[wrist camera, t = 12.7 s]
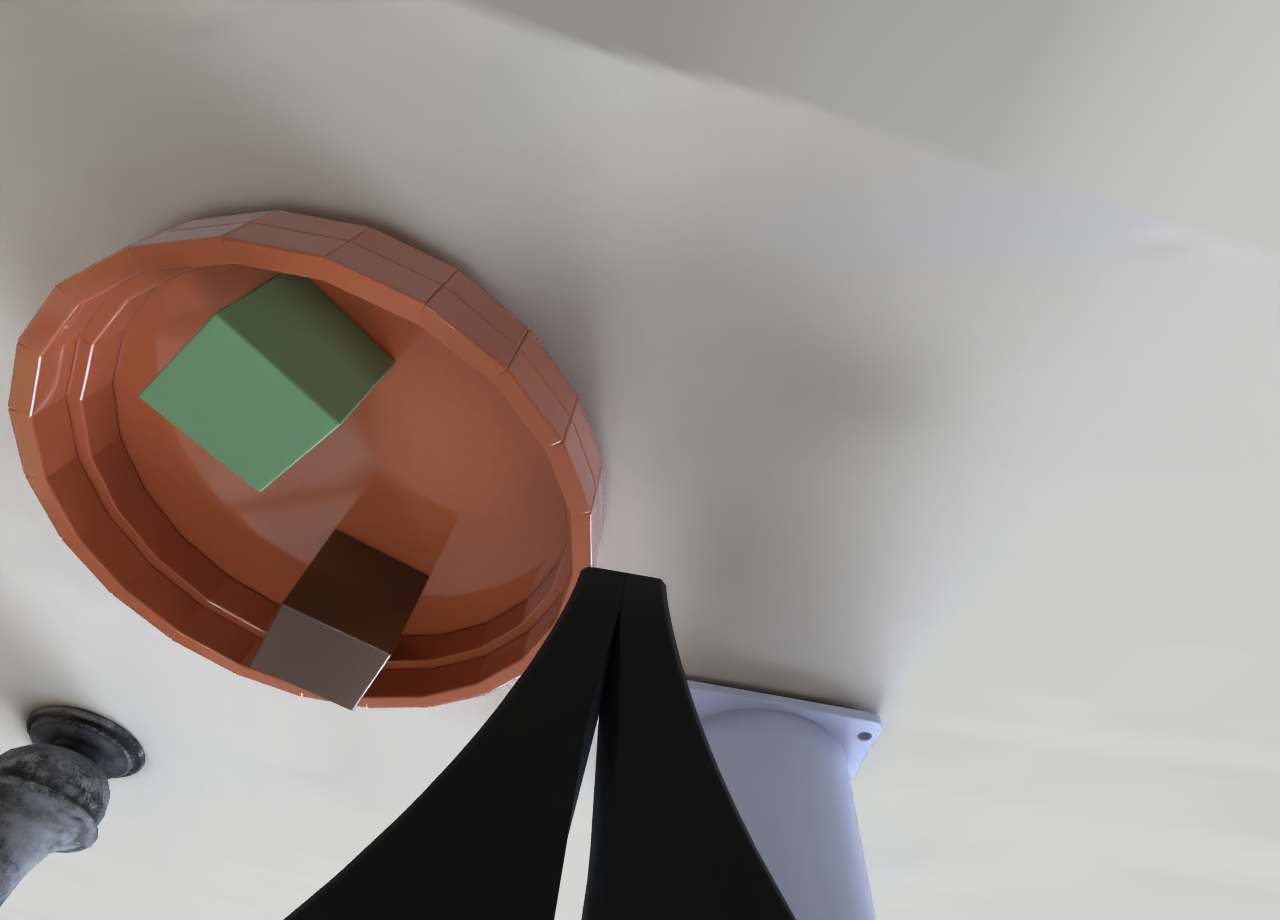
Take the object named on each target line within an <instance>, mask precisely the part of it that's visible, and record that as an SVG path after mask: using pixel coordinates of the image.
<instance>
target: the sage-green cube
mask: <svg viewBox="0 0 1280 920" xmlns="http://www.w3.org/2000/svg"><path fill="white" fill-rule="evenodd" d="M394 364H395V361H394V360H393V359H392V358H391V357H390V356H388V355H387V354H386V353H385V352H384V351H383V350H382V349H381V348H380V347H379V346H378V345H377V344H376V343H375V342H374V341H373V340H372V339H371V338H370V337H369V336H368V335H367V334H366V333H365V332H364V331H363V330H362V329H361V328H360V327H359V326H358V325H357V324H356V323H354V322H353V321H352V320H351V319H350V318H349V317H348V316H347V315H346V314H345V313H344V312H343V311H342V310H341V309H340V308H339V307H338V306H337V305H336V304H335V303H334V302H333V301H332V300H331V299H330V298H329V297H328V296H327V295H326V294H325V293H324V292H323V291H322V290H321V289H319V288H318V287H317V286H316V285H315V284H314V283H313V282H312V281H311V280H310V279H309V278H308V277H303V276H298V275H292V274H287V273H282V272H281V273H279V274H278V275H276V276H275V277H273V278H271V279H270V280H268V281H266V282H265V283H263V284H261V285H260V286H258V287H257V288H255V289H253V290H252V291H250V292H248V293H247V294H245V295H244V296H242V297H240V298H239V299H237V300H235V301H234V302H232V303H231V304H229V305H227V306H226V307H224V308H222V309H221V310H219V311H217V312H216V313H214V314H213V315H212V317H211V318H210V319H209V320H208V321H207V322H206V323H205V324H204V325H203V326H202V327H201V328H200V329H199V330H198V332H197V333H196V334H195V335H194V336H193V337H192V338H191V339H190V340H189V341H188V342H187V343H186V344H185V345H184V347H183V348H182V349H181V350H180V351H179V352H178V353H177V354H176V355H175V356H174V357H173V358H172V359H171V360H170V362H169V363H168V364H167V365H166V366H165V367H164V368H163V369H162V370H161V371H160V372H159V373H158V374H157V375H156V377H155V378H154V379H153V380H152V381H151V382H150V383H149V384H148V385H147V386H146V387H145V388H144V389H143V390H142V392H141V393H140V394H139V397H140V398H141V399H142V400H143V401H145V402H146V403H147V404H148V405H150V406H151V407H152V408H154V409H155V410H156V411H157V412H159V413H160V414H161V415H162V416H164V417H165V418H166V419H167V420H169V421H170V422H171V423H172V424H174V425H175V426H176V427H177V428H179V429H180V430H181V431H182V432H184V433H185V434H186V435H188V436H189V437H190V438H191V439H193V440H194V441H195V442H196V443H198V444H199V445H200V446H201V447H203V448H204V449H205V450H206V451H208V452H209V453H210V454H211V455H213V456H214V457H215V458H216V459H218V460H219V461H220V462H222V463H223V464H224V465H225V466H227V467H228V468H229V469H230V470H232V471H233V472H234V473H235V474H237V475H238V476H239V477H240V478H242V479H243V480H244V481H245V482H247V483H248V484H249V485H251V486H252V487H253V488H254V489H256V490H257V491H258V492H260V491H262V490H263V489H265V488H266V487H267V486H268V485H269V484H271V483H272V482H273V481H274V480H275V479H277V478H278V477H279V476H280V475H281V474H282V473H284V472H285V471H286V470H287V469H288V468H290V467H291V466H292V465H293V464H294V463H296V462H297V461H298V460H299V459H300V458H302V457H303V456H304V455H305V454H306V453H308V452H309V451H310V450H311V449H312V448H314V447H315V446H316V445H317V444H318V443H320V442H321V441H322V440H323V439H324V438H326V437H327V436H328V435H329V434H330V433H332V432H333V431H334V430H335V429H336V428H338V427H339V426H340V425H341V424H342V423H343V422H344V421H345V419H346V418H347V417H348V416H349V415H350V414H351V413H352V412H353V410H354V409H355V408H356V407H357V406H358V405H359V404H360V403H361V401H362V400H363V399H364V398H365V397H366V396H367V395H368V394H369V392H370V391H371V390H372V389H373V388H374V387H375V386H376V384H377V383H378V382H379V381H380V380H381V379H382V378H383V377H384V375H385V374H386V373H387V372H388V371H389V370H390V369H391V368H392V366H393V365H394Z"/></svg>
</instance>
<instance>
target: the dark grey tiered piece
mask: <svg viewBox="0 0 1280 920" xmlns="http://www.w3.org/2000/svg"><path fill="white" fill-rule="evenodd" d="M27 732H28V733H29V735H30V737H31V740H32V742H33V744H32V745H27V746H23V747H18V748H14V749H10V750H9V751H7V752H5V753H3V754H1V755H0V906H1V905H2V904H3V902H4V901H5V900H6V899H7V897H8V896H9V895H10V893H11V892H12V891H13V890H14V888H15V887H16V886H17V885H18V883H19V882H20V881H21V880H22V878H23V877H24V876H25V875H26V874H27V873H28V872H29V871H30V870H31V869H32V868H33V867H34V866H36V865H37V864H38V863H39V862H40V861H41V860H43V859H44V858H45V857H46V856H47V855H48V854H50V853H53V852H60V853H70V852H78V851H81V850H84V849H86V848H88V847H91V846H92V844H93V843H94V842H95V841H96V840H97V837H98V828H97V825H98V824H99V823H100V821H101V820H102V819H103V817H104V815H105V812H106V809H107V805H108V802H109V798H110V790H109V785H108V779H110V778H119V777H126V776H130V775H132V774H134V773H137V772H138V771H139V770H140V769H141V767H142V766H143V765H144V762H145V755H144V752H143V749H142V747H141V746H140V745H139V743H138V742H137V741H136V740H135V739H134V738H133V737H132V736H131V735H130V734H129V733H128V732H126V731H125V730H124V729H122V728H121V727H119V726H118V725H116V724H114V723H113V722H111V721H109V720H107V719H105V718H103V717H101V716H98V715H96V714H93V713H90V712H87V711H84V710H81V709H76V708H71V707H65V706H49V707H44V708H40V709H38V710H36V711H34V712H33V713H32V714H31V715H30V716H29V718H28V720H27Z"/></svg>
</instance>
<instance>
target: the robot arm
mask: <svg viewBox="0 0 1280 920" xmlns="http://www.w3.org/2000/svg"><path fill="white" fill-rule="evenodd" d="M598 716H599V724H598V740H597V755H596V771H595V786H594V802H593V818H592V833H591V849H590V859H589V869H588V879H587V886H586V893H585V899H584V906H583V913H582V920H876V917H875V912H874V906H873V901H872V896H871V890H870V885H869V879H868V874H867V869H866V863H865V858H864V852H863V847H862V842H861V836H860V831H859V825H858V820H857V815H856V809H855V804H854V799H853V793H852V788H851V782H850V781H851V780H852V778H853V776H854V775H855V773H856V771H857V770H858V768H859V766H860V765H861V763H862V761H863V760H864V758H865V756H866V755H867V753H868V751H869V750H870V748H871V746H872V745H873V743H874V741H875V740H876V738H877V736H878V735H879V733H880V731H881V729H882V723H881V719H880V717H879V716H878V715H877V714H875V713H872V712H867V711H861V710H855V709H850V708H844V707H838V706H833V705H827V704H821V703H816V702H810V701H804V700H799V699H793V698H787V697H782V696H776V695H770V694H765V693H759V692H753V691H748V690H742V689H736V688H731V687H725V686H719V685H714V684H708V683H702V682H697V681H690V680H686V676H685V673H684V670H683V667H682V663H681V660H680V656H679V652H678V649H677V645H676V640H675V636H674V632H673V628H672V623H671V618H670V613H669V607H668V600H667V592H666V585H665V583H664V582H663V581H662V580H661V579H659V578H653V577H647V576H641V575H636V574H630V573H624V572H618V571H612V570H607V569H601V568H595V567H589V566H588V567H586V568H584V569H582V570H581V571H580V574H579V577H578V580H577V582H576V585H575V587H574V589H573V591H572V594H571V596H570V598H569V600H568V602H567V604H566V605H565V607H564V609H563V611H562V613H561V615H560V616H559V618H558V620H557V622H556V623H555V625H554V627H553V628H552V630H551V632H550V633H549V635H548V636H547V638H546V639H545V641H544V642H543V644H542V646H541V647H540V649H539V650H538V652H537V653H536V655H535V657H534V658H533V660H532V661H531V663H530V664H529V665H528V667H527V668H526V670H525V671H524V672H523V674H522V675H521V677H520V678H519V679H518V681H517V682H516V683H515V685H514V686H513V687H512V689H511V690H510V691H509V693H508V694H507V695H506V697H505V698H504V700H503V701H502V702H501V704H500V705H499V706H498V707H497V709H496V710H495V711H494V713H493V714H492V715H491V716H490V717H489V719H488V720H487V721H486V722H485V724H484V725H483V726H482V727H481V729H480V730H479V731H478V732H477V733H476V735H475V736H474V737H473V738H472V739H471V740H470V742H469V743H468V744H467V745H466V746H465V747H464V748H463V750H462V751H461V752H460V753H459V754H458V755H457V756H456V758H455V759H454V760H453V761H452V762H451V763H450V764H449V765H448V766H447V767H446V768H445V770H444V771H443V772H442V773H441V774H440V775H439V776H438V777H437V778H436V779H435V780H434V781H433V782H432V783H431V784H430V786H429V787H428V788H427V789H426V790H425V791H424V792H423V793H422V794H421V795H420V796H419V797H418V798H417V799H416V800H415V801H414V802H413V803H412V804H411V805H410V806H409V807H408V808H407V809H406V810H405V811H404V812H403V813H402V814H401V815H400V816H399V817H398V818H397V819H396V820H395V821H394V822H393V823H392V824H391V825H390V826H389V827H388V828H387V829H385V830H384V831H383V832H382V833H381V834H380V835H379V836H378V837H377V838H376V839H375V840H374V841H373V842H372V843H371V844H369V845H368V846H367V847H366V848H365V849H364V850H363V851H362V852H361V853H360V854H359V855H358V856H357V857H356V858H355V859H353V860H352V861H351V862H350V863H349V864H348V865H347V866H346V867H345V868H344V869H343V870H342V871H340V872H339V873H338V874H337V875H336V876H335V877H334V878H332V879H331V880H330V881H329V882H328V883H327V884H326V885H324V886H323V887H322V888H321V889H320V890H318V891H317V892H316V893H315V894H314V895H313V896H311V897H310V898H309V899H308V900H307V901H305V902H304V903H303V904H302V905H301V906H299V907H298V908H297V909H296V910H295V911H293V912H292V913H291V914H290V915H289V916H287V917H286V918H285V919H284V920H554V917H555V911H556V905H557V899H558V893H559V886H560V880H561V874H562V868H563V862H564V856H565V850H566V844H567V838H568V834H569V830H570V826H571V822H572V818H573V815H574V811H575V807H576V803H577V799H578V795H579V791H580V787H581V783H582V779H583V775H584V771H585V767H586V763H587V759H588V756H589V752H590V748H591V744H592V740H593V736H594V732H595V728H596V724H597V720H598Z"/></svg>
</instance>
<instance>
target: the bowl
mask: <svg viewBox="0 0 1280 920" xmlns="http://www.w3.org/2000/svg"><path fill="white" fill-rule="evenodd" d="M281 272H282V273H287V274H292V275H298V276H303V277H308V278H309V279H310V280H311V281H312V282H313V283H314V284H315V285H316V286H317V287H318V288H319V289H321V290H322V291H323V292H324V293H325V294H326V295H327V296H328V297H329V298H330V299H331V300H332V301H333V302H334V303H335V304H336V305H337V306H338V307H339V308H340V309H341V310H342V311H343V312H344V313H345V314H346V315H347V316H348V317H349V318H350V319H351V320H352V321H353V322H354V323H356V324H357V325H358V326H359V327H360V328H361V329H362V330H363V331H364V332H365V333H366V334H367V335H368V336H369V337H370V338H371V339H372V340H373V341H374V342H375V343H376V344H377V345H378V346H379V347H380V348H381V349H382V350H383V351H384V352H385V353H386V354H387V355H388V356H390V357H391V358H392V359H393V360H394V361H395V364H394V365H393V366H392V368H391V369H390V370H389V371H388V372H387V373H386V374H385V375H384V377H383V378H382V379H381V380H380V381H379V382H378V383H377V384H376V386H375V387H374V388H373V389H372V390H371V391H370V392H369V394H368V395H367V396H366V397H365V398H364V399H363V400H362V401H361V403H360V404H359V405H358V406H357V407H356V408H355V409H354V410H353V412H352V413H351V414H350V415H349V416H348V417H347V418H346V419H345V421H344V422H343V423H342V424H341V425H340V426H339V427H338V428H336V429H335V430H334V431H333V432H332V433H330V434H329V435H328V436H327V437H326V438H324V439H323V440H322V441H321V442H320V443H318V444H317V445H316V446H315V447H314V448H312V449H311V450H310V451H309V452H308V453H306V454H305V455H304V456H303V457H302V458H300V459H299V460H298V461H297V462H296V463H294V464H293V465H292V466H291V467H290V468H288V469H287V470H286V471H285V472H284V473H282V474H281V475H280V476H279V477H278V478H277V479H275V480H274V481H273V482H272V483H271V484H269V485H268V486H267V487H266V488H265V489H263V490H262V491H260V492H258V491H257V490H256V489H254V488H253V487H252V486H251V485H249V484H248V483H247V482H245V481H244V480H243V479H242V478H240V477H239V476H238V475H237V474H235V473H234V472H233V471H232V470H230V469H229V468H228V467H227V466H225V465H224V464H223V463H222V462H220V461H219V460H218V459H216V458H215V457H214V456H213V455H211V454H210V453H209V452H208V451H206V450H205V449H204V448H203V447H201V446H200V445H199V444H198V443H196V442H195V441H194V440H193V439H191V438H190V437H189V436H188V435H186V434H185V433H184V432H182V431H181V430H180V429H179V428H177V427H176V426H175V425H174V424H172V423H171V422H170V421H169V420H167V419H166V418H165V417H164V416H162V415H161V414H160V413H159V412H157V411H156V410H155V409H154V408H152V407H151V406H150V405H148V404H147V403H146V402H145V401H143V400H142V399H141V398H140V397H139V394H140V393H141V392H142V390H143V389H144V388H145V387H146V386H147V385H148V384H149V383H150V382H151V381H152V380H153V379H154V378H155V377H156V375H157V374H158V373H159V372H160V371H161V370H162V369H163V368H164V367H165V366H166V365H167V364H168V363H169V362H170V360H171V359H172V358H173V357H174V356H175V355H176V354H177V353H178V352H179V351H180V350H181V349H182V348H183V347H184V345H185V344H186V343H187V342H188V341H189V340H190V339H191V338H192V337H193V336H194V335H195V334H196V333H197V332H198V330H199V329H200V328H201V327H202V326H203V325H204V324H205V323H206V322H207V321H208V320H209V319H210V318H211V317H212V315H213V314H214V313H216V312H217V311H219V310H221V309H222V308H224V307H226V306H227V305H229V304H231V303H232V302H234V301H235V300H237V299H239V298H240V297H242V296H244V295H245V294H247V293H248V292H250V291H252V290H253V289H255V288H257V287H258V286H260V285H261V284H263V283H265V282H266V281H268V280H270V279H271V278H273V277H275V276H276V275H278V274H279V273H281ZM8 406H9V414H10V418H11V422H12V426H13V430H14V434H15V439H16V443H17V447H18V451H19V455H20V459H21V463H22V467H23V471H24V474H25V475H26V479H27V480H28V482H29V484H30V486H31V487H32V489H33V491H34V493H35V494H36V496H37V498H38V500H39V501H40V503H41V505H42V506H43V508H44V510H45V512H46V513H47V515H48V517H49V519H50V520H51V522H52V524H53V526H54V527H55V529H56V531H57V532H58V534H59V536H60V537H61V538H62V540H63V541H64V543H65V544H66V545H67V546H68V547H69V548H70V549H71V550H72V551H73V552H74V554H75V555H76V556H77V557H78V558H79V559H80V560H81V561H82V562H83V563H84V564H85V566H86V567H87V568H88V569H89V570H90V571H91V572H92V573H93V574H94V575H95V576H96V578H97V579H98V580H99V581H100V582H101V583H102V584H103V585H104V586H105V587H106V589H107V590H108V591H109V592H110V593H113V595H114V596H115V597H116V598H118V599H119V600H120V601H122V602H123V603H124V604H126V605H127V606H128V607H130V608H131V609H132V610H134V611H135V612H136V613H137V614H139V615H140V616H141V617H143V618H144V619H145V620H147V621H148V622H149V623H151V624H152V625H153V626H155V627H156V628H157V629H158V630H160V631H161V632H162V633H164V634H165V635H166V636H168V637H169V638H172V640H173V641H175V642H177V643H179V644H181V645H182V646H184V647H186V648H188V649H190V650H192V651H194V652H196V653H198V654H199V655H201V656H203V657H205V658H207V659H209V660H211V661H213V662H214V663H216V664H218V665H220V666H222V667H224V668H226V669H228V670H229V671H231V672H233V673H236V674H238V675H241V676H243V677H246V678H249V679H252V680H255V681H258V682H261V683H264V684H267V685H269V686H272V687H275V688H278V689H281V690H284V691H287V692H290V693H292V694H295V695H298V696H303V697H308V698H314V699H319V700H325V701H329V700H326V699H324V698H322V697H320V696H317V695H315V694H313V693H310V692H308V691H306V690H303V689H301V688H299V687H297V686H294V685H292V684H290V683H287V682H285V681H283V680H280V679H278V678H276V677H273V676H271V675H269V674H267V673H264V672H262V671H260V670H257V669H255V668H253V667H251V663H252V661H253V659H254V657H255V655H256V653H257V651H258V649H259V647H260V645H261V643H262V641H263V639H264V637H265V635H266V633H267V631H268V629H269V627H270V625H271V623H272V621H273V619H274V617H275V615H276V613H277V611H278V609H279V607H280V605H281V603H282V602H283V601H284V599H285V598H286V597H287V595H288V594H289V592H290V591H291V590H292V588H293V587H294V585H295V584H296V583H297V581H298V580H299V578H300V577H301V576H302V574H303V573H304V571H305V570H306V569H307V567H308V566H309V564H310V563H311V562H312V560H313V559H314V558H315V556H316V555H317V553H318V552H319V551H320V549H321V548H322V546H323V545H324V544H325V542H326V541H327V539H328V538H329V537H330V535H331V534H332V532H333V531H334V530H338V531H340V532H342V533H344V534H346V535H348V536H350V537H352V538H354V539H356V540H358V541H360V542H362V543H364V544H366V545H368V546H370V547H372V548H374V549H376V550H378V551H380V552H382V553H384V554H386V555H388V556H390V557H392V558H394V559H396V560H398V561H400V562H402V563H404V564H406V565H408V566H410V567H412V568H414V569H416V570H418V571H420V572H422V573H424V574H426V575H428V576H429V579H428V581H427V583H426V585H425V587H424V590H423V592H422V594H421V596H420V598H419V600H418V602H417V604H416V606H415V608H414V610H413V612H412V614H411V616H410V618H409V620H408V622H407V624H406V626H405V628H404V630H403V632H402V634H401V637H400V639H399V641H398V643H397V645H396V647H395V649H394V651H393V653H392V655H391V656H390V658H389V659H388V661H387V662H386V664H385V665H384V666H383V668H382V669H381V671H380V672H379V674H378V675H377V677H376V678H375V680H374V681H373V682H372V684H371V685H370V687H369V688H368V690H367V691H366V693H365V694H364V695H363V697H362V698H361V700H360V701H359V703H358V704H357V706H360V707H368V708H406V707H434V706H438V705H442V704H447V703H451V702H456V701H460V700H464V699H469V698H473V697H477V696H482V695H486V694H489V693H491V692H492V691H494V690H496V689H498V688H500V687H502V686H504V685H506V684H507V683H509V682H511V681H513V680H515V679H517V678H519V677H520V676H521V675H522V674H523V672H524V671H525V670H526V668H527V667H528V665H529V664H530V663H531V661H532V660H533V658H534V657H535V655H536V653H537V652H538V650H539V649H540V647H541V646H542V644H543V642H544V641H545V639H546V638H547V636H548V635H549V633H550V632H551V630H552V628H553V627H554V625H555V623H556V622H557V620H558V618H559V616H560V615H561V613H562V611H563V609H564V607H565V605H566V604H567V602H568V600H569V598H570V596H571V594H572V591H573V589H574V587H575V585H576V582H577V580H578V577H579V574H580V571H581V570H582V569H584V568H586V567H588V566H589V567H595V562H596V557H597V552H598V547H599V542H600V537H601V532H602V527H603V474H602V465H601V464H602V461H601V458H600V456H599V453H598V450H597V447H596V444H595V442H594V439H593V436H592V433H591V430H590V427H589V425H588V422H587V419H586V416H585V413H584V411H583V408H582V405H581V402H580V399H579V398H578V395H577V393H576V392H575V391H574V389H573V388H572V386H571V385H570V384H569V382H568V381H567V380H566V378H565V377H564V375H563V374H562V373H561V371H560V370H559V368H558V367H557V366H556V364H555V363H554V362H553V360H552V359H551V357H550V356H549V355H548V353H547V352H546V350H545V349H544V348H543V346H542V345H541V344H540V342H539V341H538V339H537V338H536V337H535V335H534V334H533V332H532V331H531V330H528V327H527V326H526V325H524V324H523V323H522V322H521V321H519V320H518V319H517V318H516V317H515V316H513V315H512V314H511V313H510V312H509V311H507V310H506V309H505V308H504V307H503V306H501V305H500V304H499V303H498V302H497V301H495V300H494V299H493V298H492V297H490V296H489V295H488V294H487V293H486V292H484V291H483V290H482V289H481V288H480V287H478V286H477V285H476V284H475V283H474V282H472V281H471V280H470V279H469V278H468V277H466V276H465V275H464V274H463V273H461V272H460V271H458V270H457V268H455V267H453V266H451V265H449V264H447V263H444V262H442V261H440V260H438V259H436V258H434V257H432V256H430V255H428V254H426V253H424V252H422V251H419V250H417V249H415V248H413V247H411V246H409V245H407V244H405V243H403V242H401V241H399V240H396V239H394V238H392V237H390V236H388V235H386V234H384V233H382V232H380V231H378V230H376V229H374V228H369V227H367V226H361V225H356V224H351V223H346V222H340V221H335V220H330V219H325V218H319V217H314V216H309V215H303V214H298V213H293V212H288V211H282V210H278V211H274V210H271V211H263V212H254V213H245V214H237V215H228V216H220V217H211V218H202V219H195V220H191V221H188V222H186V223H184V224H181V225H179V226H176V227H174V228H171V229H169V230H166V231H164V232H162V233H160V234H156V235H154V236H152V237H149V238H147V239H144V240H142V241H139V242H137V243H134V244H132V245H129V246H127V247H125V248H123V249H121V250H119V251H117V252H115V253H114V254H112V255H110V256H108V257H106V258H104V259H102V260H100V261H99V262H97V263H95V264H93V265H91V266H89V267H87V268H86V269H84V270H82V271H80V272H78V273H76V274H74V275H72V276H71V277H69V278H67V279H65V280H63V281H61V282H59V283H58V285H56V286H55V287H54V289H53V290H52V292H51V293H50V295H49V296H48V297H47V299H46V300H45V302H44V303H43V305H42V306H41V307H40V309H39V310H38V312H37V313H36V315H35V316H34V317H33V319H32V320H31V322H30V323H29V325H28V326H27V327H26V329H25V330H24V332H23V333H22V335H21V336H20V337H19V339H18V343H17V347H16V354H15V361H14V368H13V375H12V382H11V389H10V396H9V404H8Z"/></svg>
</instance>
